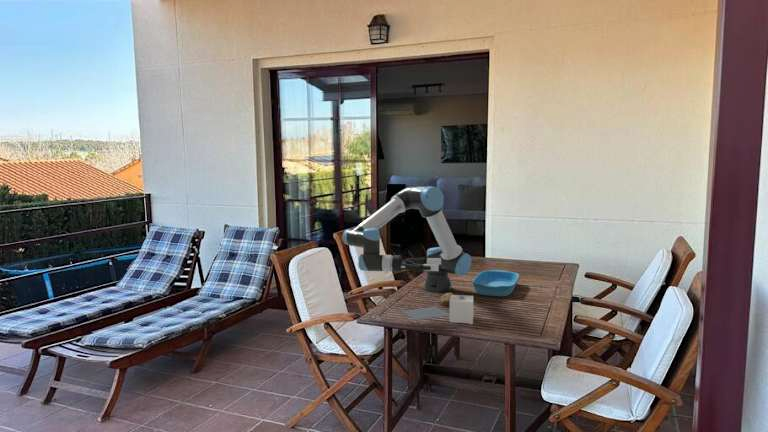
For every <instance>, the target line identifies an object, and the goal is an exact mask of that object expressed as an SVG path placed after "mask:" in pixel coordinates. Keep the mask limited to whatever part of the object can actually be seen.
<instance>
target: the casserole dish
mask: <svg viewBox="0 0 768 432" xmlns="http://www.w3.org/2000/svg"><path fill="white" fill-rule="evenodd" d="M519 277H520V274H519V273H517V272H513V271H508V270H497V269H495V270H494V269H493V270H491V269H490V270H489V269H488V270H483V271H480V272H479V273H478V274H476V276H475V277H474V278H473V279H472V284H473V287H474V290H475V292H476V293H477V294H478V295H483V296H491V297H508V296H509V295H511V294H512V293H513V291H514V289H515V287H516V285H517V284H518V280H519Z"/></svg>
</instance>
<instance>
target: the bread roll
mask: <svg viewBox="0 0 768 432" xmlns="http://www.w3.org/2000/svg"><path fill="white" fill-rule="evenodd" d="M451 295H455V294H454V293H452V292H447V293H444V294H443V295H441V296H440V298H439V301H438V302H439V303H438V304H439V306H441V307H446V308H448V307H449V308H450V298H451Z"/></svg>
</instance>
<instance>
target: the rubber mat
mask: <svg viewBox="0 0 768 432" xmlns="http://www.w3.org/2000/svg"><path fill="white" fill-rule="evenodd" d="M402 313H404V315H406V316H408V317H410V318H411V319H413V320H414V321H418V320H425V319H432V318H438V317H443V316H444V317H445V316H450V313H448V312H447V311H445V310H443V309H441V308H439V307H436V306H432V307H431V306H429V307H424V308H423V307H422V308H417V309H411V310H410V309H409V310H404V311H403V310H402Z"/></svg>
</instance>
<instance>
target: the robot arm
mask: <svg viewBox="0 0 768 432" xmlns="http://www.w3.org/2000/svg"><path fill="white" fill-rule="evenodd" d="M444 199H445V197H444V194H443V192H442V191H441V190H440V188H438V187H436V186H431V185H426V186H424V185H410V186H407V187H405V188H403V189H402V190H400V191H398V192H397V193H396V194H394V195H393V196H392V197H391V198H390V200H389V201H388V202H387V203H385V204H384V205H383V206H382V207H380V208H379V209H378V210H376V211H375V212H374V213H372V214H371V215H370V216H369V217H367V218H366V219H365V220H363V221H362V222H361V223H359V224H358V225H357V226H356V227H354V228H353V229H352V228H351V229H345V230H344V231H343V233H342V238H341V239H342V242H343V243H344V244H346V245H348V246H351V247H356V248H361V249H362V250H363V252H362V254H359V257H358V261H357V263H358V264H357V265H358V269H359V270H360V271H365V272H385V273H389V272H394V273H400V272H402V271H411V272H412V271H413V272H419V273H421V274H423V273H424V272H426V277H425V280H424V283H423V289H424V290H425V291H428V292H434V293H435V292H436V293H441V292H448V291H451V290H452V283H451V281H450V277H449V274H453V275H456V276H465V275H466V274H467V273H469V271H470V269H471V267H472V266H471V265H472V257H471V255H470V254H468V253H467V252H466V253H465V252H464V249H463V248H462V246H460V245H459V244H457V242H456V241H457V240H456V239H455V238H454V237H455V236H454V235H453V232H452V230H451V228H450V226H449V223H448V222H447V220H446V217H445V215H444V212H443V208H444V204H445V203H444V202H445V201H444ZM410 209H411V210H412V209H413V210H418V211H419V214H420V215H421V217H422V218H426V220H427V223H428V225H429V228H430V229H431V231H432V233H433V235H434V238H435V240H436V242H437V244H438V246H437V247H430V248H428V249H427V250H426V255H425V256H423V257H409V258H407V257H405V258H404V259H403V256H402V255H400V254H394V255H392V254H381V252H380V251H381V249H380V248H381V240H380V239H381V237H380V236H381V235H380V230H379V229H381V228H382V227H384V225H386V224H388V222H390V221H391V220H392V219H394V218H395V217H396V216H397V215H398V214H400V213H405V212H406V211H407V210H410Z"/></svg>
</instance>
